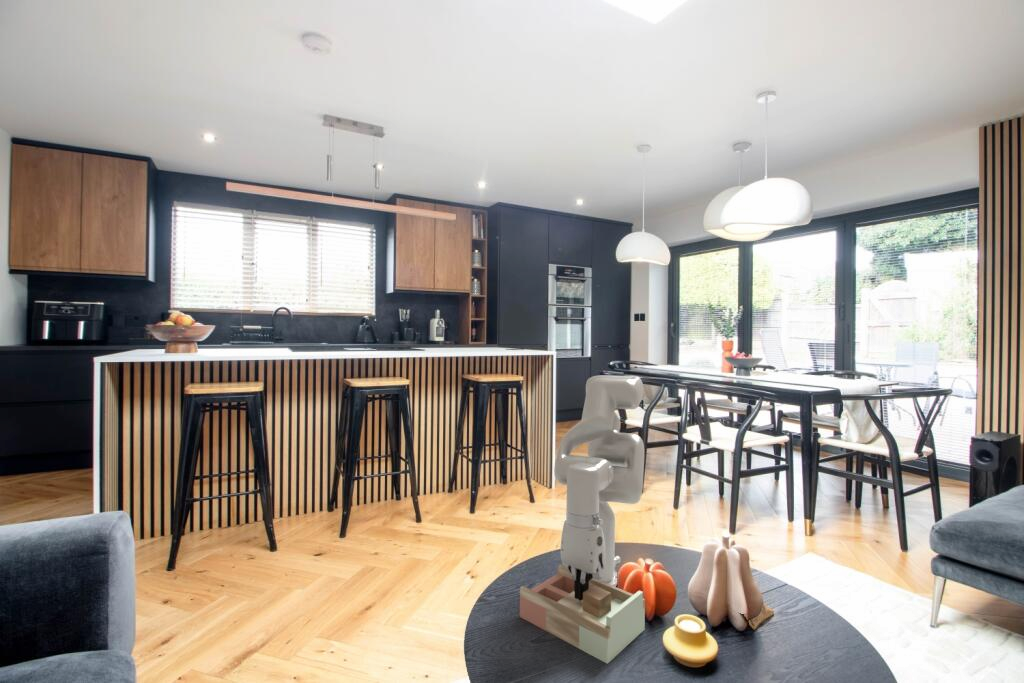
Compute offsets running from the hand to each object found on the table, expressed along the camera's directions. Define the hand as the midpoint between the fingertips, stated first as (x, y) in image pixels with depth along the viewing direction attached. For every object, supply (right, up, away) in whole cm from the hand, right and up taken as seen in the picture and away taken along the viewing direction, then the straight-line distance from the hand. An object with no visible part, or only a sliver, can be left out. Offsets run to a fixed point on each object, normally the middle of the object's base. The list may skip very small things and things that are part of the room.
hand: (581, 597), depth 111 cm
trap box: (0, -6, +1) cm, 6 cm away
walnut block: (+3, -1, -3) cm, 5 cm away
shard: (+43, -7, +4) cm, 44 cm away
